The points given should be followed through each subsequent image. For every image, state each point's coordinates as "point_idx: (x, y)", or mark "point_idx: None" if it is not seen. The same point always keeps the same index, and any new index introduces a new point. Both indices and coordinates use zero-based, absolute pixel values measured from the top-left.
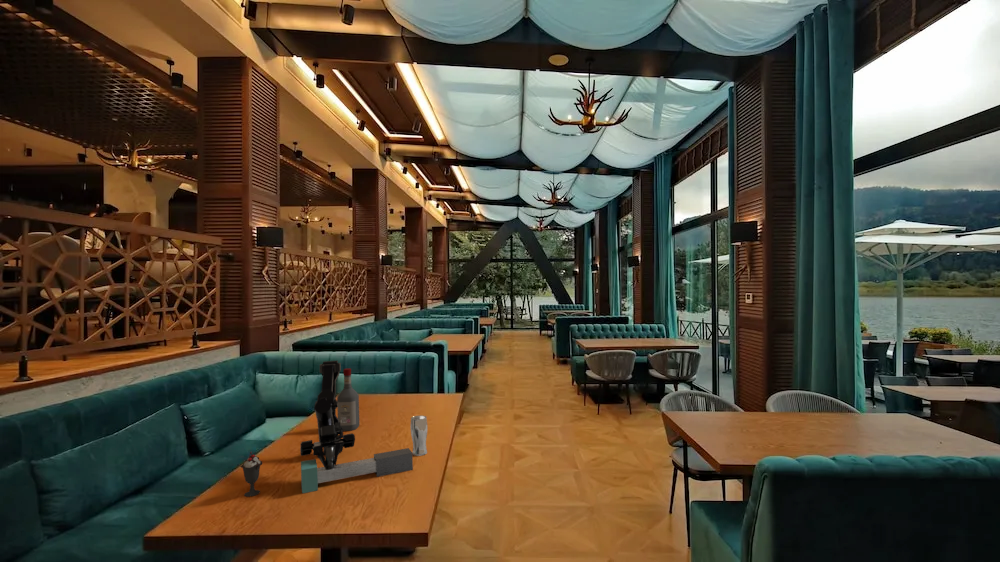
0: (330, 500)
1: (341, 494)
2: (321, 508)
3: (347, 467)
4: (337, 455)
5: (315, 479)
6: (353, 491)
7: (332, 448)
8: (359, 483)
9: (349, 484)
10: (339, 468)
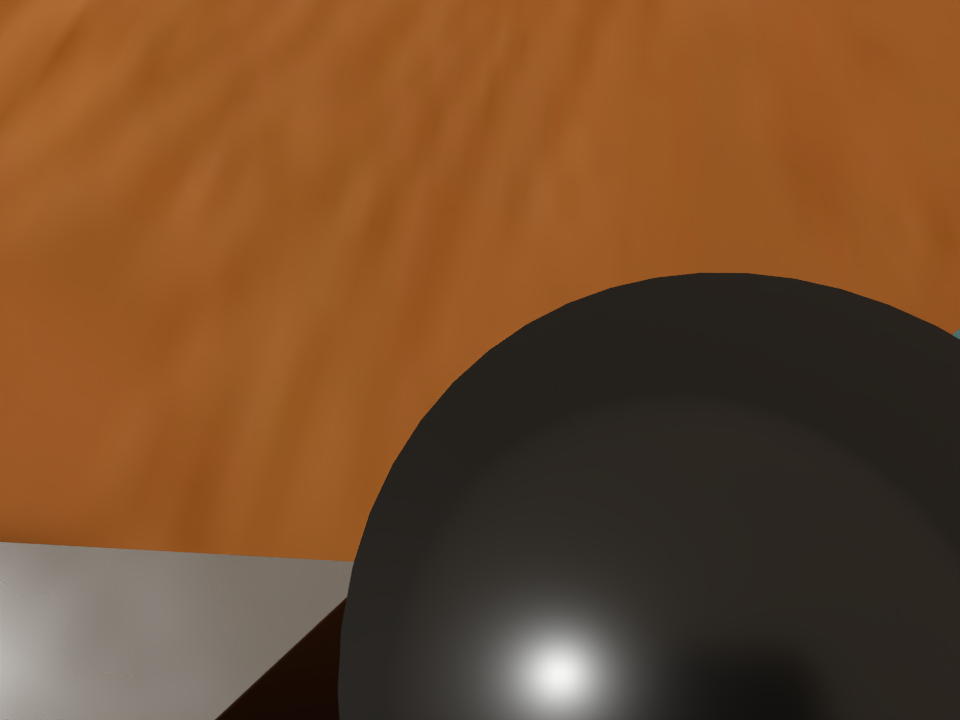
0: (572, 124)
1: (419, 206)
2: (678, 10)
3: (95, 558)
4: (237, 700)
5: None
6: (252, 210)
7: (516, 379)
8: (64, 430)
9: (217, 482)
10: (307, 562)
